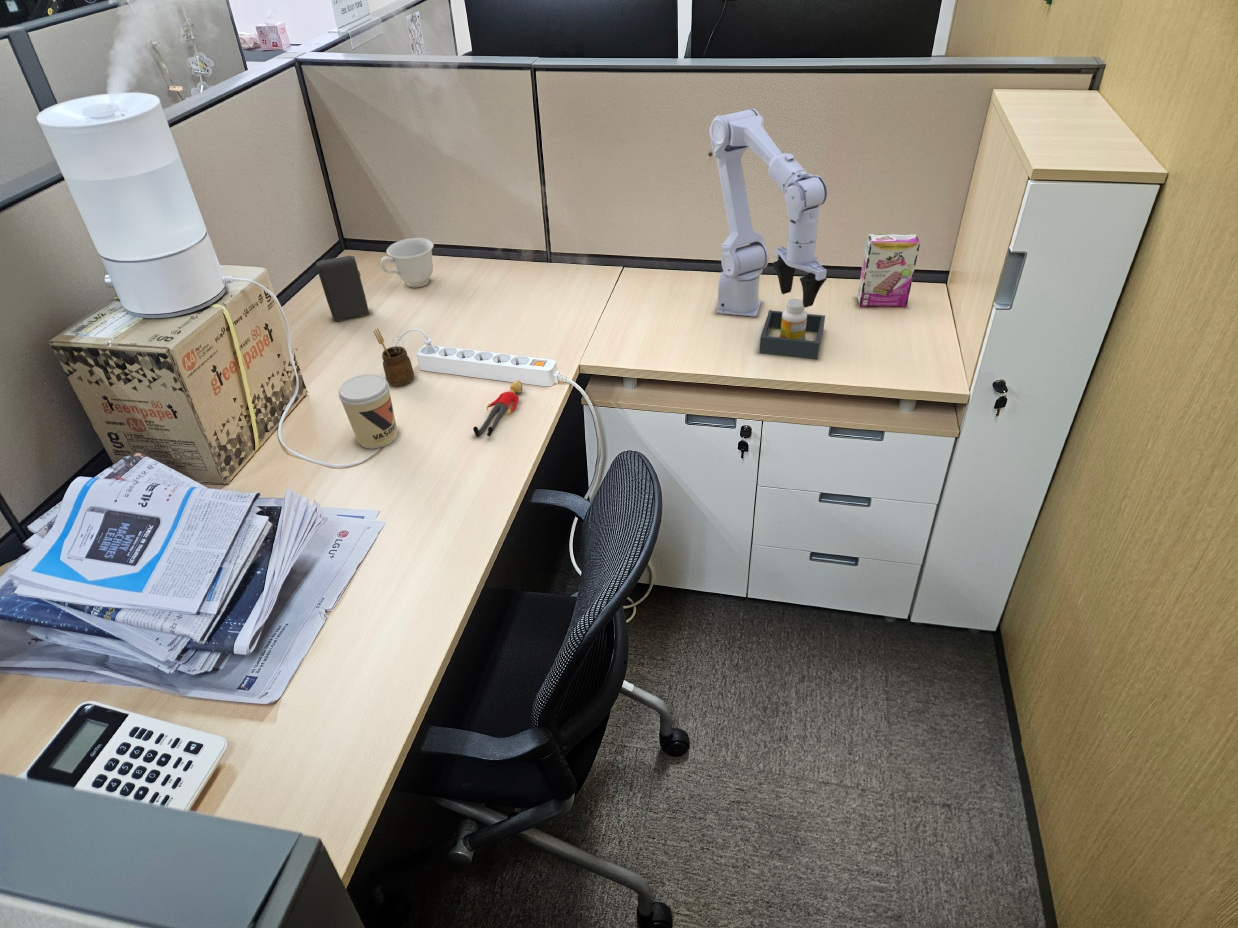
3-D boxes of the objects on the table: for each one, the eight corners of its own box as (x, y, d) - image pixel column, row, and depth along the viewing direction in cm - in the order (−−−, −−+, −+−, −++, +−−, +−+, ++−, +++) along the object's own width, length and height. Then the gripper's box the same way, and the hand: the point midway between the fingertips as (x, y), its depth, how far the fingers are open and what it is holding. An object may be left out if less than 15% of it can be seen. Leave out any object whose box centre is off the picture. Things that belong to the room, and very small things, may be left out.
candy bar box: (859, 308, 188) (869, 242, 178) (856, 298, 192) (866, 233, 182) (908, 308, 187) (921, 242, 176) (904, 298, 191) (916, 233, 180)
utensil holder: (405, 389, 170) (392, 340, 163) (380, 384, 172) (367, 336, 164) (420, 374, 174) (408, 326, 167) (395, 370, 176) (383, 322, 169)
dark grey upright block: (370, 309, 200) (354, 253, 191) (371, 316, 197) (355, 259, 188) (332, 316, 198) (315, 259, 189) (333, 323, 195) (316, 266, 186)
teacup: (377, 287, 210) (367, 251, 204) (425, 269, 217) (417, 234, 211) (400, 301, 203) (391, 265, 196) (449, 282, 210) (442, 246, 204)
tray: (759, 353, 174) (760, 337, 172) (767, 325, 184) (769, 310, 181) (817, 359, 171) (819, 343, 169) (823, 331, 180) (825, 315, 178)
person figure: (470, 418, 153) (509, 369, 166) (468, 433, 155) (507, 384, 168) (494, 429, 152) (532, 379, 165) (492, 443, 155) (528, 393, 168)
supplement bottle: (777, 337, 179) (780, 298, 173) (800, 335, 180) (804, 296, 174) (782, 349, 175) (786, 309, 169) (806, 347, 175) (811, 307, 169)
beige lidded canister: (377, 456, 152) (361, 405, 144) (343, 442, 156) (326, 391, 148) (411, 431, 158) (398, 380, 150) (378, 418, 162) (363, 368, 154)
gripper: (841, 245, 159) (833, 307, 167) (795, 223, 169) (790, 282, 177) (812, 253, 156) (806, 315, 165) (768, 231, 167) (765, 290, 175)
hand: (796, 299), depth 171 cm, fingers open, 7 cm apart
